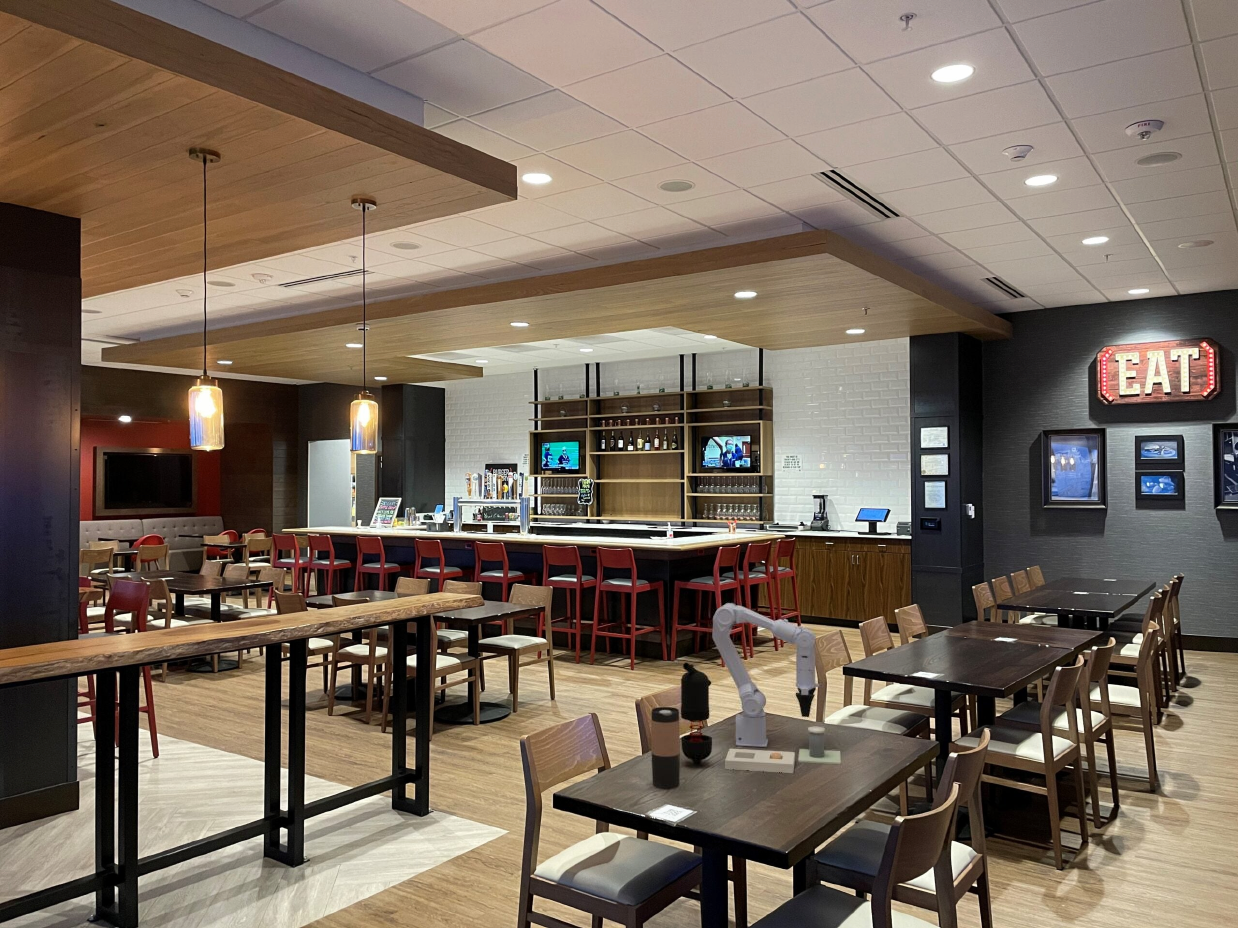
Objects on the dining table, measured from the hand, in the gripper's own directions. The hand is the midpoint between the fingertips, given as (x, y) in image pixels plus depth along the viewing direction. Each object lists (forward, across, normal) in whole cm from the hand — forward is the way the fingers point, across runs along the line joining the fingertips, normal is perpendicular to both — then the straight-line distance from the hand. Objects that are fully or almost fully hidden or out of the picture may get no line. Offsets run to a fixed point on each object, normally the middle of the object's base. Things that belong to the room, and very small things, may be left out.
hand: (806, 713), depth 278 cm
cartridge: (+10, -10, -4) cm, 14 cm away
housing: (+10, -21, +12) cm, 26 cm away
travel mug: (+11, -44, +35) cm, 58 cm away
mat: (+10, -10, -4) cm, 15 cm away
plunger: (+10, -21, +8) cm, 24 cm away
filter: (+11, -23, +30) cm, 39 cm away
